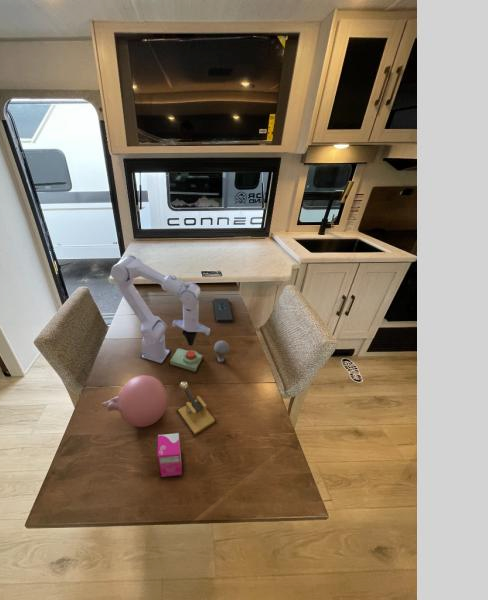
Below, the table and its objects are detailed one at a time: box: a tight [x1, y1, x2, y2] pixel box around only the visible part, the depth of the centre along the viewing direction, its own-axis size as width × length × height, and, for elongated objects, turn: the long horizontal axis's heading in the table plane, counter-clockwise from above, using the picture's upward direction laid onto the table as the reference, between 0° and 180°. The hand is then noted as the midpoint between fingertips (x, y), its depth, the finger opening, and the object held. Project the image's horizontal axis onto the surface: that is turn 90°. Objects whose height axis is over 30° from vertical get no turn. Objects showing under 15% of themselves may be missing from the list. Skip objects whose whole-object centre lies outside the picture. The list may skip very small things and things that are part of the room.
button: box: [186, 349, 195, 360], centre depth 106 cm, size 4×4×2 cm
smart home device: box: [213, 298, 234, 323], centre depth 140 cm, size 8×2×20 cm
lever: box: [179, 380, 202, 413], centre depth 87 cm, size 11×3×3 cm, turn 33°
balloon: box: [101, 374, 168, 428], centre depth 84 cm, size 15×20×15 cm
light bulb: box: [213, 340, 230, 363], centre depth 107 cm, size 6×6×10 cm
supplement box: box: [157, 432, 183, 478], centre depth 72 cm, size 6×6×12 cm
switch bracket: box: [177, 395, 216, 436], centre depth 86 cm, size 10×8×7 cm
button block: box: [169, 347, 203, 372], centre depth 108 cm, size 11×8×4 cm
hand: (191, 344), depth 103 cm, fingers closed
